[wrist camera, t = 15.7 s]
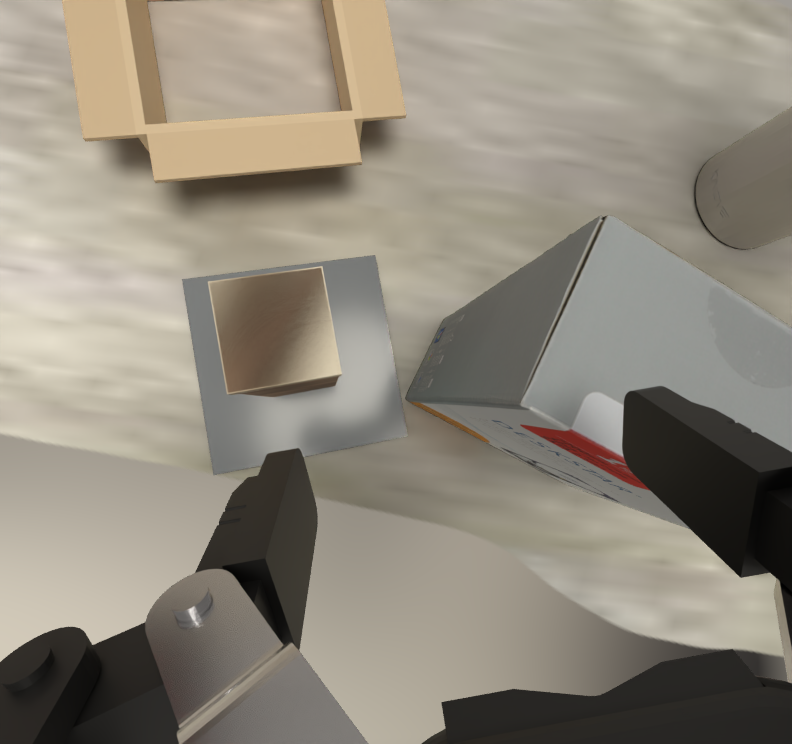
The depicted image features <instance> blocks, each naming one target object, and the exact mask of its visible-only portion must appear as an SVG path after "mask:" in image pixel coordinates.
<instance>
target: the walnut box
mask: <svg viewBox="0 0 792 744" xmlns="http://www.w3.org/2000/svg"><path fill="white" fill-rule="evenodd" d="M208 286H209V291H210V297H211V303H212V309H213V315H214V321H215V327H216V333H217V338H218V344H219V350H220V356H221V362H222V368H223V374H224V380H225V386H226V391H227V394H229V395H236V394H245V395H255V396H265V397H277V396H283V395H288V394H294V393H299V392H305V391H310V390H316V389H321V388H327V387H332V386H335V385H336V383H337V380H338V378H339V376H341V375H342V372H341V366H340V361H339V355H338V350H337V344H336V339H335V333H334V328H333V322H332V317H331V311H330V306H329V300H328V295H327V289H326V284H325V278H324V273H323V267H322V266H320V267H313V268H306V269H298V270H291V271H283V272H276V273H268V274H261V275H253V276H246V277H238V278H231V279H223V280H216V281H208Z"/></svg>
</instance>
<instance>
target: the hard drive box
mask: <svg viewBox="0 0 792 744" xmlns="http://www.w3.org/2000/svg"><path fill="white" fill-rule="evenodd" d="M656 386H664V387H666V388H668V389H670V390H672V391H673V392H675V393H677V394H679V395H680V396H682V397H684V398H686V399H687V400H689V401H691V402H693V403H697V404H700V405H703V406H706V407H709V408H713V409H715V410H717V411H719V412H721V413H723V414H724V415H726V416H728V417H730V418H732V419H733V420H735V423H738V422H739V423H741V424H742V425H744V426H746V427H748V428H750V429H751V431H752V432H757V433H758V434H760V435H762V436H764V437H766V438H767V439H769V440H771V441H773V442H775V443H776V444H778V445H780V446H782V447H784V448H785V449H787V450H789V451H791V452H792V327H791V326H790V325H788V324H787V323H785V322H783V321H782V320H780V319H779V318H777V317H775V316H774V315H772V314H771V313H769V312H767V311H766V310H764V309H762V308H761V307H759V306H758V305H756V304H755V303H753V302H751V301H750V300H748V299H747V298H745V297H744V296H742V295H740V294H739V293H737V292H736V291H734V290H732V289H731V288H729V287H728V286H726V285H724V284H723V283H721V282H719V281H718V280H716V279H714V278H713V277H711V276H710V275H708V274H707V273H705V272H704V271H702V270H700V269H699V268H697V267H696V266H694V265H692V264H691V263H689V262H688V261H686V260H684V259H683V258H681V257H680V256H678V255H676V254H675V253H673V252H672V251H670V250H668V249H667V248H665V247H663V246H662V245H660V244H658V243H657V242H655V241H654V240H652V239H650V238H649V237H647V236H645V235H644V234H642V233H640V232H638V231H637V230H635V229H633V228H632V227H630V226H628V225H627V224H625V223H624V222H622V221H621V220H619V219H617V218H616V217H613V216H609V215H608V216H606V217H602V216H599V217H597V218H596V219H594V220H593V221H591V222H589V223H588V224H586V225H585V226H583V227H581V228H580V229H578V230H577V231H576V232H575V233H573V234H570V235H569V236H568V237H567V238H566V239H564V240H563V241H561V242H560V243H558V244H557V245H555V246H554V247H553V248H551V249H549V250H547V251H546V252H545V253H544V254H542V255H541V256H539V257H538V258H536V259H535V260H533V261H532V262H530V263H528V264H527V265H525V266H524V267H522V268H520V269H519V270H518V271H516V272H515V273H513V274H512V275H510V276H509V277H507V278H506V279H504V280H502V281H501V282H499V283H498V284H497V285H495V286H494V287H492V288H491V289H489V290H488V291H486V292H485V293H483V294H482V295H481V296H479V297H477V298H476V299H475V300H473V301H471V302H470V303H469V304H467V305H466V306H464V307H463V308H461V309H459V310H458V311H456V312H455V313H453V314H452V315H450V316H448V317H446V318H445V319H444V320H443V322H442V324H441V326H440V328H439V330H438V332H437V334H436V336H435V338H434V340H433V342H432V344H431V346H430V348H429V350H428V352H427V354H426V356H425V358H424V360H423V362H422V364H421V366H420V368H419V370H418V372H417V374H416V376H415V378H414V380H413V383H412V385H411V387H410V389H409V391H408V393H407V396H406V400H407V401H409V402H411V403H412V404H414V405H416V406H418V407H420V408H422V409H424V410H425V411H427V412H429V413H431V414H433V415H435V416H437V417H439V418H441V419H443V420H445V421H446V422H448V423H450V424H452V425H454V426H456V427H458V428H460V429H462V430H463V431H465V432H467V433H469V434H471V435H473V436H475V437H477V438H479V439H481V440H482V441H484V442H486V443H488V444H490V445H492V446H494V447H496V448H498V449H499V450H501V451H503V452H505V453H507V454H509V455H511V456H513V457H515V458H516V459H518V460H520V461H522V462H524V463H526V464H528V465H530V466H532V467H534V468H535V469H537V470H539V471H541V472H543V473H545V474H547V475H549V476H551V477H553V478H555V479H557V480H559V481H561V482H562V483H564V484H566V485H569V486H571V487H574V488H577V489H579V490H582V491H585V492H587V493H590V494H593V495H595V496H598V497H601V498H604V499H607V500H610V501H612V502H615V503H618V504H621V505H624V506H627V507H630V508H632V509H635V510H638V511H641V512H644V513H647V514H649V515H652V516H655V517H658V518H660V519H663V520H666V521H669V522H672V523H674V524H677V525H680V526H683V527H686V528H688V529H690V528H689V527H688V526H687V525H686V524H685V523H684V522H683V521H681V520H680V519H679V518H678V517H677V516H676V515H675V514H674V513H673V512H672V511H671V510H670V509H669V508H668V507H667V506H666V505H665V504H664V503H663V502H662V501H661V500H660V499H659V498H658V497H657V496H656V495H655V494H653V493H652V492H651V491H650V490H649V489H648V488H647V487H646V486H645V485H644V484H643V483H642V482H641V481H640V480H639V479H638V478H637V477H636V476H635V475H634V474H633V473H632V472H631V471H630V470H629V468H628V466H627V464H626V462H625V460H624V456H623V452H622V436H623V409H624V398H625V395H626V394H627V393H628V392H629V391H633V390H639V389H644V388H650V387H656Z"/></svg>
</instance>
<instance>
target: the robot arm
mask: <svg viewBox="0 0 792 744" xmlns="http://www.w3.org/2000/svg"><path fill="white" fill-rule="evenodd" d="M696 202H697V207H698V210H699V214H700V216H701V218H702V220H703V222H704V224H705V225H706V227H707V228H708V229H709V231H710V232H711V233H712V234H713V235H714V236H715V237H716V238H718V239H719V240H720V241H722V242H723V243H725V244H727V245H729V246H732V247H735V248H739V249H751V248H757V247H759V246H762V245H765V244H768V243H770V242H773V241H776V240H779V239H781V238H784V237H787V236H790V235H792V107H790V108H789V109H787V110H786V111H784V112H782V113H781V114H779V115H778V116H776V117H775V118H773V119H771V120H770V121H768V122H767V123H765V124H764V125H762V126H761V127H759V128H757V129H756V130H754V131H752V132H751V133H749V134H748V135H746V136H745V137H743V138H742V139H740V140H738V141H737V142H735V143H734V144H732V145H731V146H729V147H728V148H726V149H725V150H723V151H721V152H720V153H718V154H717V155H715V156H714V157H712V158H711V159H709V161H708V162H707V163H706V164H705V165H704V166H703V168H702V170H701V172H700V173H699V176H698V180H697V183H696ZM622 452H623V456H624V460H625V462H626V464H627V466H628V468H629V470H630V471H631V472H632V473H633V474H634V475H635V476H636V477H637V478H638V479H639V480H640V481H641V482H642V483H643V484H644V485H645V486H646V487H647V488H648V489H649V490H650V491H651V492H652V493H653V494H655V495H656V496H657V497H658V498H659V499H660V500H661V501H662V502H663V503H664V504H665V505H666V506H667V507H668V508H669V509H670V510H671V511H672V512H673V513H674V514H675V515H676V516H677V517H678V518H679V519H680V520H681V521H683V522H684V523H685V524H686V525H687V526H688V527H689V528H690V529H691V530H692V531H693V532H694V533H695V534H696V535H697V536H698V537H699V538H700V539H701V540H702V541H703V542H704V543H705V544H706V545H707V546H708V547H709V548H711V549H712V550H713V551H714V552H715V553H716V554H717V555H718V556H719V557H720V558H721V559H722V560H723V561H724V562H725V563H726V564H727V565H728V566H729V567H730V568H731V569H732V570H733V571H734V572H735V573H736V574H737V575H739V576H740V577H741V578H742V577H748V576H753V575H759V574H764V573H771V574H772V575H773V576H775V577H776V583H775V588H774V598H775V604H776V610H777V616H778V623H779V629H780V635H781V641H782V647H783V653H784V659H785V665H786V671H787V678H788V682H786V681H782V680H777V679H771V678H766V677H761V676H755V675H754V674H753V673H752V672H751V671H750V669H749V668H748V667H747V666H746V664H745V663H744V662H743V661H742V660H741V659H740V657H739V656H738V655H737V654H736V653H735V651H734V650H733V649H730V650H725V651H720V652H714V653H709V654H703V655H698V656H692V657H687V658H681V659H676V660H670V661H665V662H661V663H659V664H657V665H655V666H654V667H652V668H650V669H648V670H646V671H645V672H643V673H641V674H639V675H637V676H635V677H634V678H632V679H630V680H628V681H626V682H624V683H623V684H621V685H619V686H617V687H616V688H614V689H612V690H610V691H608V692H606V693H604V694H602V695H599V696H582V695H570V694H560V693H550V692H538V691H528V690H517V689H512V690H506V691H500V692H495V693H490V694H484V695H479V696H473V697H468V698H463V699H457V700H451V701H446V702H442V708H443V714H444V721H445V726H446V729H444V730H443V731H441V732H439V733H437V734H435V735H433V736H432V737H430V738H429V739H427V740H426V741H425V742H423V743H422V744H792V452H791V451H789V450H787V449H785V448H784V447H782V446H780V445H778V444H776V443H775V442H773V441H771V440H769V439H767V438H766V437H764V436H762V435H760V434H758V433H757V432H752V431H751V429H750V428H748V427H746V426H744V425H742V424H741V423H739V422H738V423H735V420H733V419H732V418H730V417H728V416H726V415H724V414H723V413H721V412H719V411H717V410H715V409H713V408H709V407H706V406H703V405H700V404H697V403H693V402H691V401H689V400H687V399H686V398H684V397H682V396H680V395H679V394H677V393H675V392H673V391H672V390H670V389H668V388H666V387H664V386H656V387H650V388H644V389H639V390H633V391H629V392H628V393H627V394H626V395H625V398H624V409H623V436H622ZM316 532H317V508H316V503H315V498H314V495H313V491H312V487H311V484H310V480H309V476H308V472H307V469H306V465H305V461H304V458H303V455H302V452H301V450H300V449H299V448H296V449H290V450H284V451H278V452H273V453H268V454H267V455H266V457H265V460H264V462H263V465H262V467H261V470H260V472H259V475H258V476H254V477H248V478H247V479H246V480H245V481H244V482H243V483H242V484H241V485H240V486H239V487H238V488H237V489H236V490H235V491H234V492H233V493H232V495H231V497H230V500H229V501H228V503H227V506H226V508H225V512H223V514H222V516H221V518H220V521H219V525H218V526H217V527H216V529H215V531H214V533H213V536H212V538H211V540H210V542H209V544H208V546H207V548H206V551H205V553H204V555H203V557H202V559H201V561H200V564H199V566H198V568H197V570H196V572H195V573H194V574H192V575H190V576H187V577H186V578H184V579H182V580H180V581H179V582H177V583H176V584H174V585H173V586H171V587H170V588H169V589H168V590H167V591H166V592H165V593H163V594H162V595H161V596H160V597H159V599H158V600H157V601H156V602H155V604H154V605H153V606H152V608H151V610H150V612H149V614H148V616H147V619H146V622H145V623H143V624H141V625H139V626H136V627H134V628H131V629H129V630H127V631H125V632H122V633H120V634H118V635H115V636H113V637H111V638H109V639H106V640H104V641H102V642H99V643H97V644H95V645H92V644H91V642H90V640H89V639H88V637H87V636H86V634H85V632H84V631H83V630H81V629H80V628H76V627H64V628H59V629H55V630H52V631H49V632H47V633H44V634H42V635H40V636H38V637H36V638H34V639H32V640H31V641H29V642H27V643H25V644H24V645H22V646H21V647H19V648H18V649H16V650H15V651H13V652H12V653H11V654H10V655H8V656H7V657H6V658H5V659H3V660H2V661H1V662H0V744H368V743H367V741H366V740H365V739H364V737H363V736H362V734H361V733H360V732H359V730H358V729H357V728H356V727H355V725H354V724H353V722H352V721H351V720H350V719H349V717H348V716H347V714H346V713H345V712H344V710H343V709H342V708H341V706H340V705H339V704H338V702H337V701H336V700H335V698H334V697H333V696H332V694H331V693H330V692H329V690H328V689H327V687H325V685H324V684H323V682H322V681H321V679H320V678H319V677H318V675H317V674H316V673H315V671H314V670H313V669H312V667H311V666H310V665H309V663H308V662H307V661H306V659H305V658H304V657H303V655H302V654H301V653H300V651H299V648H300V641H301V635H302V628H303V621H304V614H305V607H306V601H307V594H308V587H309V580H310V573H311V566H312V560H313V553H314V546H315V539H316Z"/></svg>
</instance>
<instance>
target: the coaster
mask: <svg viewBox="0 0 792 744" xmlns="http://www.w3.org/2000/svg"><path fill="white" fill-rule="evenodd" d="M320 266H322V267H323V273H324V278H325V284H326V289H327V295H328V300H329V306H330V311H331V317H332V322H333V328H334V333H335V339H336V344H337V350H338V355H339V361H340V366H341V372H342V375H341V376H339V378H338V380H337V383H336V385H335V386H332V387H327V388H321V389H316V390H310V391H305V392H299V393H294V394H288V395H283V396H277V397H265V396H255V395H245V394H236V395H229V394H227V391H226V386H225V380H224V374H223V368H222V362H221V356H220V350H219V344H218V338H217V333H216V327H215V321H214V315H213V309H212V303H211V297H210V291H209V286H208V281H216V280H223V279H231V278H238V277H246V276H253V275H261V274H268V273H276V272H283V271H291V270H298V269H306V268H313V267H320ZM182 281H183V288H184V294H185V300H186V306H187V313H188V319H189V325H190V331H191V337H192V344H193V350H194V356H195V362H196V368H197V375H198V381H199V387H200V393H201V399H202V406H203V412H204V418H205V424H206V431H207V437H208V443H209V449H210V455H211V462H212V468H213V474H214V475H217V474H222V473H227V472H232V471H237V470H242V469H247V468H252V467H257V466H262V465H263V462H264V460H265V457H266V455H267V454H268V453H273V452H278V451H284V450H290V449H296V448H299V449H300V450H301V452H302V455H303V457H307V456H312V455H317V454H322V453H327V452H332V451H337V450H342V449H347V448H352V447H357V446H362V445H367V444H372V443H377V442H382V441H387V440H392V439H397V438H402V437H407V436H408V434H407V428H406V423H405V417H404V412H403V406H402V400H401V395H400V389H399V384H398V378H397V373H396V367H395V362H394V356H393V351H392V345H391V340H390V334H389V329H388V323H387V318H386V312H385V307H384V301H383V296H382V290H381V285H380V279H379V273H378V268H377V262H376V257H375V255H372V256H364V257H356V258H348V259H340V260H333V261H325V262H317V263H309V264H301V265H293V266H285V267H277V268H269V269H261V270H253V271H245V272H237V273H229V274H222V275H214V276H206V277H198V278H190V279H182Z"/></svg>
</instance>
